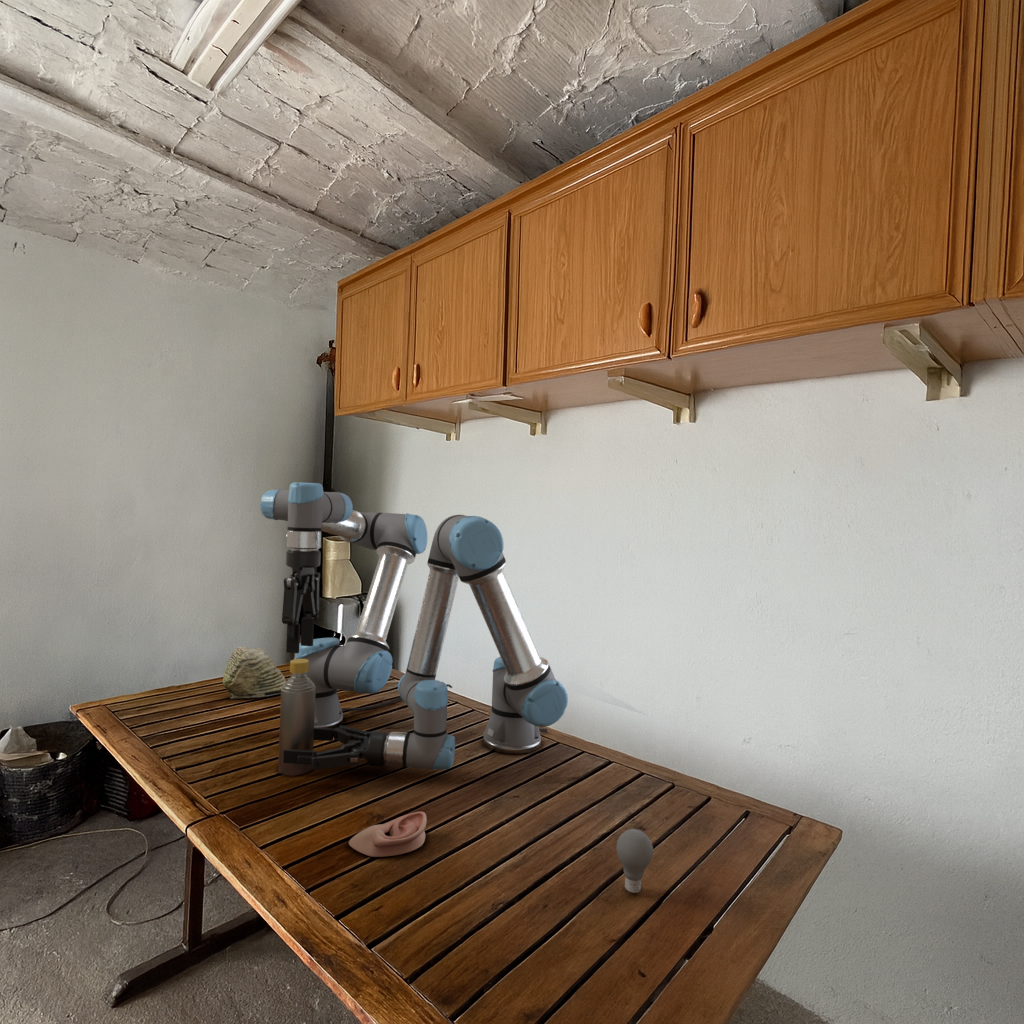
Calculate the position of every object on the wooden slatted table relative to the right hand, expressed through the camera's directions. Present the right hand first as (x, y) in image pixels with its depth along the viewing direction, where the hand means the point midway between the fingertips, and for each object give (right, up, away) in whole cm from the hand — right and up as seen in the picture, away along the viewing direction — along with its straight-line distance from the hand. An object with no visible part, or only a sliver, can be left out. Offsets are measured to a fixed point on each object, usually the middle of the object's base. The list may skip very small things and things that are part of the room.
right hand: (295, 744), depth 146 cm
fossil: (-31, -4, +52) cm, 61 cm away
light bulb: (+70, -10, -40) cm, 81 cm away
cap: (+1, +19, +1) cm, 19 cm away
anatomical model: (+27, -8, -28) cm, 40 cm away
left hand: (+1, +22, +1) cm, 22 cm away
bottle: (0, -6, +1) cm, 6 cm away
